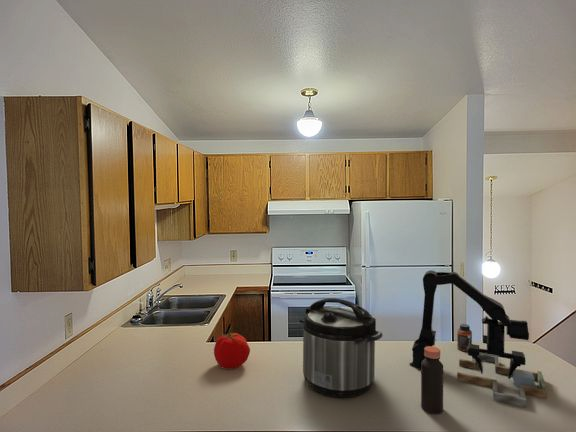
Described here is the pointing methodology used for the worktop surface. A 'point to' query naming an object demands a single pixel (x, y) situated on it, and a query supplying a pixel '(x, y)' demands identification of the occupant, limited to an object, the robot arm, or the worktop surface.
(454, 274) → the robot arm
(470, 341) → the supplement bottle
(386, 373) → the worktop surface
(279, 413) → the worktop surface
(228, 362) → the tomato
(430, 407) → the vinegar
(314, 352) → the pressure cooker
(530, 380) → the block
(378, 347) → the worktop surface
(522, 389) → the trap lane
